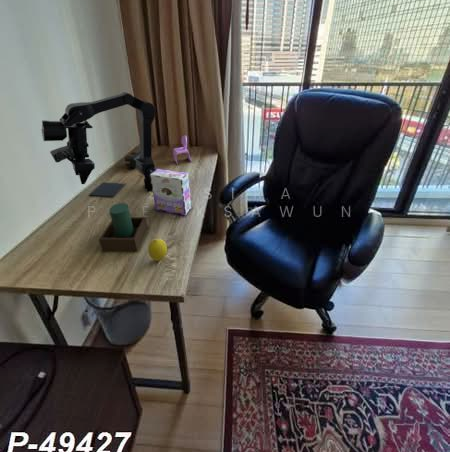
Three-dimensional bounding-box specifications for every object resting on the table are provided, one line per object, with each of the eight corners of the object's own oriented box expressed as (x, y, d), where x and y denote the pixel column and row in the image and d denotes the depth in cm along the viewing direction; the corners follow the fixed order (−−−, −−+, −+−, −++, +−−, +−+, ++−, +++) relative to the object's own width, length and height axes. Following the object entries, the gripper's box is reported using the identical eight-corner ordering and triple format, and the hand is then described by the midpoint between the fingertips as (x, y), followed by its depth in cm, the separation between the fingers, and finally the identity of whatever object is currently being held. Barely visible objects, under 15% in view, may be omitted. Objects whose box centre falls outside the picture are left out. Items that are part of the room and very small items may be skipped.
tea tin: (133, 229, 90) (127, 201, 85) (135, 239, 85) (128, 210, 80) (116, 233, 88) (109, 205, 83) (117, 244, 83) (109, 215, 78)
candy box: (192, 208, 103) (188, 172, 96) (185, 216, 98) (181, 179, 91) (162, 202, 107) (157, 167, 100) (155, 209, 102) (149, 174, 95)
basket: (116, 227, 92) (113, 216, 90) (147, 227, 92) (145, 217, 90) (102, 250, 82) (98, 239, 80) (137, 251, 82) (134, 239, 80)
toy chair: (173, 160, 146) (170, 135, 139) (188, 157, 149) (186, 133, 142) (177, 165, 139) (174, 140, 132) (192, 162, 142) (190, 137, 135)
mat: (103, 183, 122) (102, 182, 122) (124, 184, 121) (124, 183, 120) (89, 195, 112) (89, 194, 112) (112, 197, 111) (112, 196, 111)
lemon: (152, 253, 81) (148, 234, 77) (169, 252, 81) (166, 233, 78) (148, 267, 76) (144, 247, 72) (167, 265, 76) (164, 245, 73)
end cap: (138, 170, 135) (136, 158, 131) (126, 169, 136) (123, 157, 133) (146, 162, 143) (144, 151, 140) (135, 161, 144) (133, 150, 141)
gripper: (47, 134, 92) (51, 173, 97) (55, 148, 79) (59, 193, 84) (81, 133, 99) (83, 170, 104) (94, 146, 86) (95, 187, 92)
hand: (80, 179), depth 96 cm, fingers open, 9 cm apart
